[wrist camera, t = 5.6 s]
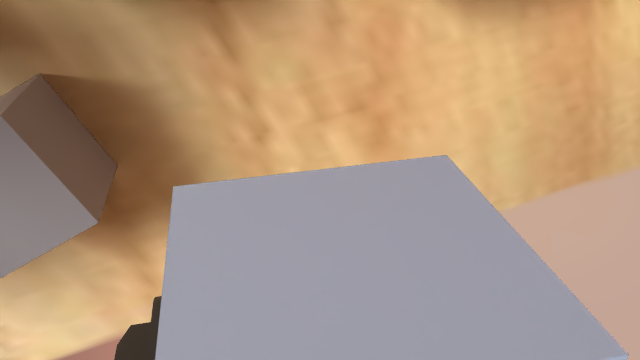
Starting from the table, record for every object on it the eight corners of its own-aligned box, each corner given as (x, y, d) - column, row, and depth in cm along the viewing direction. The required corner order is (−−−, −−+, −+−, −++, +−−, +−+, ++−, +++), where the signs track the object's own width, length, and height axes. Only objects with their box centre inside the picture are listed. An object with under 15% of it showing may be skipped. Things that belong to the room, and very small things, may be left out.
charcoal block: (-60, 132, 27) (-124, 188, 22) (40, 72, 27) (0, 115, 21) (25, 217, 30) (-13, 285, 25) (117, 165, 30) (98, 222, 24)
